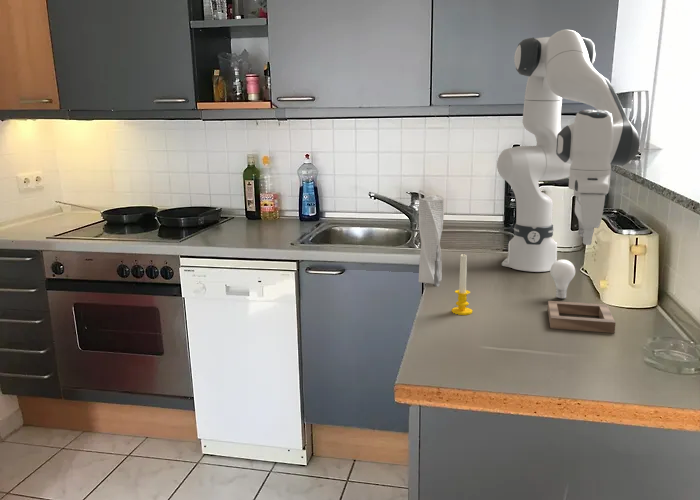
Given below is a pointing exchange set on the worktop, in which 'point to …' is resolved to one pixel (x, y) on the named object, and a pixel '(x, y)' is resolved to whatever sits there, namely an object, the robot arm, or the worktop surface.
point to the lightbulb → (562, 276)
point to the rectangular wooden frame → (578, 323)
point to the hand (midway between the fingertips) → (584, 240)
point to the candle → (462, 290)
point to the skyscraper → (430, 238)
